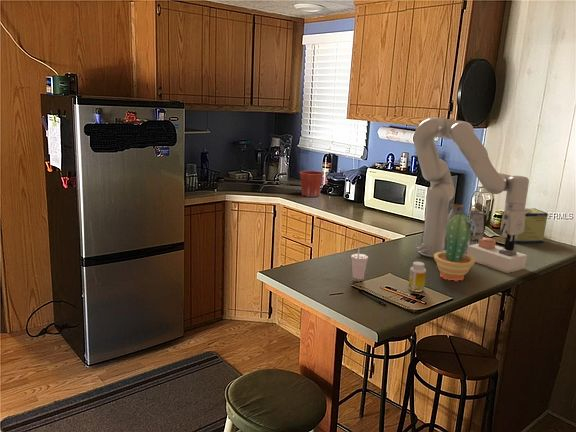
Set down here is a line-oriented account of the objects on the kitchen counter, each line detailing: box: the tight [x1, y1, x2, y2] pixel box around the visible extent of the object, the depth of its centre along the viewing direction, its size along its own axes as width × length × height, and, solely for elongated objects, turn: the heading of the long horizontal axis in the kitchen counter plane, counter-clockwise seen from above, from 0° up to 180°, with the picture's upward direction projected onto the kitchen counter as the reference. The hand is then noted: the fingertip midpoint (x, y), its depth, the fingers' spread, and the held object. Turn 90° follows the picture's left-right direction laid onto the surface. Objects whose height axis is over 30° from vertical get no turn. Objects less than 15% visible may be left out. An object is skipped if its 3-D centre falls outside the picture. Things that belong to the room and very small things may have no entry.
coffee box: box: [466, 210, 488, 247], centre depth 232 cm, size 9×6×16 cm
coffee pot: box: [447, 203, 464, 223], centre depth 257 cm, size 21×12×15 cm, turn 164°
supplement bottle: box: [408, 261, 427, 291], centre depth 175 cm, size 6×6×10 cm
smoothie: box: [350, 244, 369, 279], centre depth 182 cm, size 6×6×14 cm
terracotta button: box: [479, 237, 497, 250], centre depth 211 cm, size 5×5×6 cm
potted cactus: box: [433, 214, 477, 282], centre depth 188 cm, size 15×15×25 cm
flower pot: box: [299, 170, 324, 198], centre depth 334 cm, size 16×16×16 cm
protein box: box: [514, 207, 549, 244], centre depth 243 cm, size 10×16×16 cm
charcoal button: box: [499, 247, 518, 256], centre depth 203 cm, size 5×5×6 cm
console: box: [466, 244, 528, 274], centre depth 208 cm, size 12×20×6 cm, turn 32°
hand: (508, 249), depth 202 cm, fingers closed
